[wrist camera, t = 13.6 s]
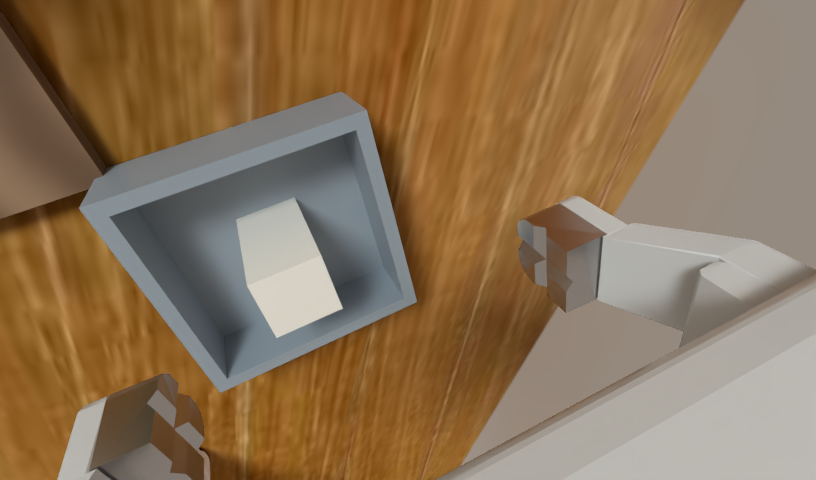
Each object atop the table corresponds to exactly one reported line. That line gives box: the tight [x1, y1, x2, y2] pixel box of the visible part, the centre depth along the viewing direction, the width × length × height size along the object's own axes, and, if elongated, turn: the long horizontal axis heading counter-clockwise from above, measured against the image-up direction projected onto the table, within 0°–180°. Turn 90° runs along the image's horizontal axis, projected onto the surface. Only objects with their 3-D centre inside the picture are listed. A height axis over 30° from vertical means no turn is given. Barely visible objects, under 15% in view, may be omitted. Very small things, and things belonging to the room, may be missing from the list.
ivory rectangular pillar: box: [236, 197, 343, 338], centre depth 30 cm, size 5×5×9 cm
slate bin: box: [79, 92, 417, 393], centre depth 32 cm, size 17×17×6 cm
